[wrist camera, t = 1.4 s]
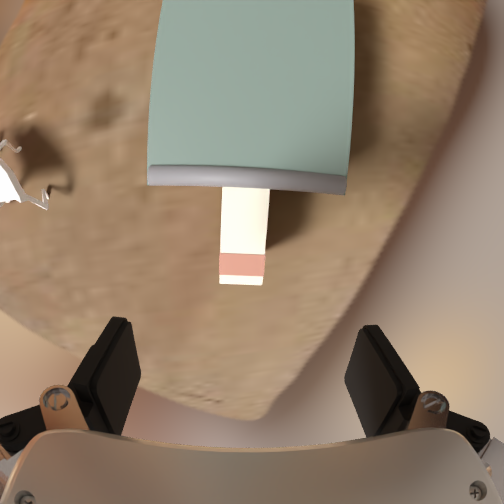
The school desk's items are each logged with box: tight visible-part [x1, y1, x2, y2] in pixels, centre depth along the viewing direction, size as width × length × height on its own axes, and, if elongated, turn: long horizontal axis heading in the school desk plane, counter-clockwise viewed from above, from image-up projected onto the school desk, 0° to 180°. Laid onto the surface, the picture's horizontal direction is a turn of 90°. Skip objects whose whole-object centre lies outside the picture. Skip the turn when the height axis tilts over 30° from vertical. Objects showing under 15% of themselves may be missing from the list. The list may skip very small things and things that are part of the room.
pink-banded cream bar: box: [219, 187, 270, 285], centre depth 21 cm, size 13×3×5 cm, turn 176°
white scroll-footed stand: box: [0, 140, 49, 210], centre depth 20 cm, size 12×8×5 cm
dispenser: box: [147, 0, 355, 195], centre depth 17 cm, size 16×12×8 cm
